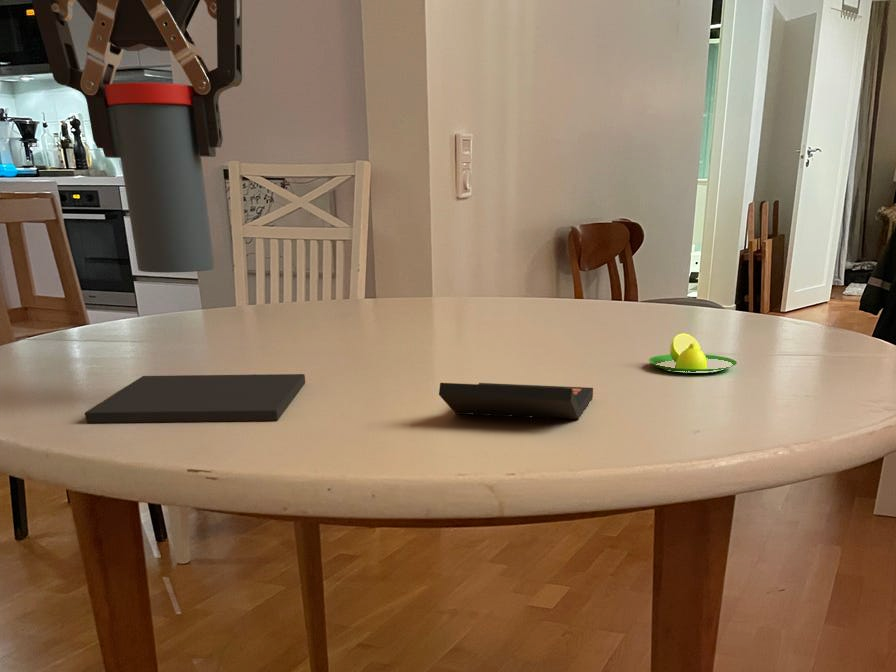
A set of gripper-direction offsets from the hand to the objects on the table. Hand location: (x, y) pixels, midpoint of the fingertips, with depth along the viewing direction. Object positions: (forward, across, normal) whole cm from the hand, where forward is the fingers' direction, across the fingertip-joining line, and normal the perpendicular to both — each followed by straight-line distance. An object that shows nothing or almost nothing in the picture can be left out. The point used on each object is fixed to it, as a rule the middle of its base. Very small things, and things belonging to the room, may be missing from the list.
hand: (160, 156), depth 67 cm
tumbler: (+8, 0, 0) cm, 8 cm away
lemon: (+18, -43, -11) cm, 48 cm away
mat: (+17, -1, +1) cm, 17 cm away
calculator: (+18, -26, +6) cm, 32 cm away
